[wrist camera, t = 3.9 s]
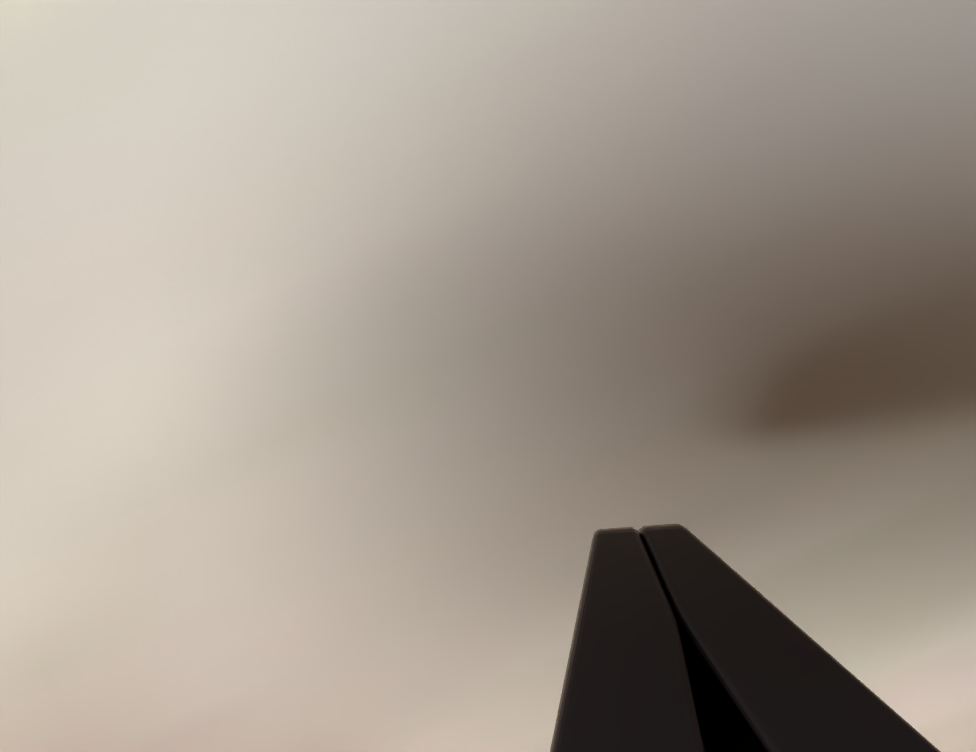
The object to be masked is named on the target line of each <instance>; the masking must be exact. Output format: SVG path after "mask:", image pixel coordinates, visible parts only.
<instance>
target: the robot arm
mask: <svg viewBox="0 0 976 752" xmlns="http://www.w3.org/2000/svg"><path fill="white" fill-rule="evenodd" d="M550 752H940V751H939V750H938V749H937V748H936V747H935V746H934V745H932V744H931V743H930V742H929V741H928V740H927V739H926V738H924V737H923V736H922V735H921V734H920V733H919V732H918V731H916V730H915V729H914V728H913V727H912V726H911V725H910V724H909V723H907V722H906V721H905V720H904V719H903V718H902V717H901V716H899V715H898V714H897V713H896V712H895V711H894V710H893V709H891V708H890V707H889V706H888V705H887V704H886V703H885V702H883V701H882V700H881V699H880V698H879V697H878V696H877V695H875V694H874V693H873V692H872V691H871V690H870V689H869V688H868V687H866V686H865V685H864V684H863V683H862V682H861V681H860V680H858V679H857V678H856V677H855V676H854V675H853V674H852V673H850V672H849V671H848V670H847V669H846V668H845V667H844V666H842V665H841V664H840V663H839V662H838V661H837V660H836V659H835V658H833V657H832V656H831V655H830V654H829V653H828V652H827V651H825V650H824V649H823V648H822V647H821V646H820V645H819V644H817V643H816V642H815V641H814V640H813V639H812V638H811V637H809V636H808V635H807V634H806V633H805V632H804V631H803V630H801V629H800V628H799V627H798V626H797V625H796V624H795V623H794V622H792V621H791V620H790V619H789V618H788V617H787V616H786V615H784V614H783V613H782V612H781V611H780V610H779V609H778V608H776V607H775V606H774V605H773V604H772V603H771V602H770V601H768V600H767V599H766V598H765V597H764V596H763V595H762V594H760V593H759V592H758V591H757V590H756V589H755V588H754V587H753V586H751V585H750V584H749V583H748V582H747V581H746V580H745V579H743V578H742V577H741V576H740V575H739V574H738V573H737V572H735V571H734V570H733V569H732V568H731V567H730V566H729V565H727V564H726V563H725V562H724V561H723V560H722V559H721V558H720V557H718V556H717V555H716V554H715V553H714V552H713V551H712V550H710V549H709V548H708V547H707V546H706V545H705V544H704V543H702V542H701V541H700V540H699V539H698V538H697V537H696V536H694V535H693V534H692V533H691V532H690V531H689V530H688V529H686V528H685V527H683V526H681V525H679V524H667V525H652V526H644V527H642V528H641V529H639V531H637V530H636V529H634V528H632V527H624V528H610V529H599V530H597V531H596V532H595V533H594V535H593V539H592V544H591V549H590V554H589V559H588V564H587V569H586V574H585V579H584V584H583V589H582V594H581V599H580V604H579V609H578V614H577V619H576V624H575V629H574V634H573V639H572V644H571V649H570V654H569V659H568V664H567V669H566V674H565V679H564V684H563V689H562V694H561V699H560V704H559V709H558V714H557V719H556V724H555V729H554V734H553V739H552V744H551V749H550Z"/></svg>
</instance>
